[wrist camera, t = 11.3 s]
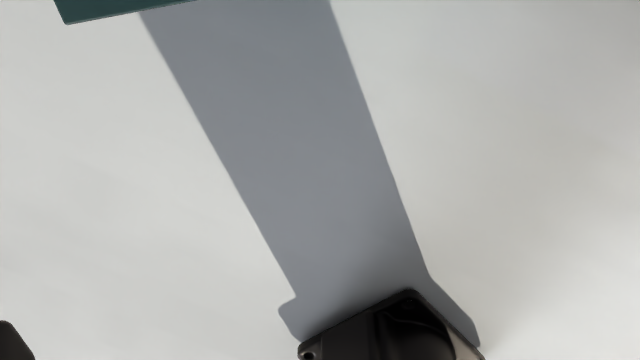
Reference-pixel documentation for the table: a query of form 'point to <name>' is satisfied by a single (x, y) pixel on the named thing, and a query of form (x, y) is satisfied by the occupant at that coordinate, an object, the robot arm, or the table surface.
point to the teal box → (105, 8)
